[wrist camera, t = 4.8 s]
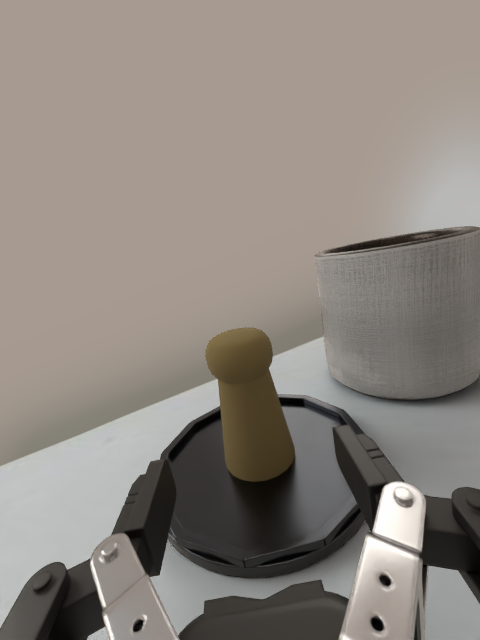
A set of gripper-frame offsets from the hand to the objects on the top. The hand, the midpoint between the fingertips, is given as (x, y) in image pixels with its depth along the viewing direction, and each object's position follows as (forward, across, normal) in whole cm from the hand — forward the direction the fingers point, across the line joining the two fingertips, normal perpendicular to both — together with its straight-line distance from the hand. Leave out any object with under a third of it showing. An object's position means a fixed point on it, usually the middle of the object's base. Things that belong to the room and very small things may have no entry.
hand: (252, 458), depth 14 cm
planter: (+20, -18, +8) cm, 28 cm away
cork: (+9, 0, +8) cm, 12 cm away
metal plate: (+9, 0, +8) cm, 12 cm away
